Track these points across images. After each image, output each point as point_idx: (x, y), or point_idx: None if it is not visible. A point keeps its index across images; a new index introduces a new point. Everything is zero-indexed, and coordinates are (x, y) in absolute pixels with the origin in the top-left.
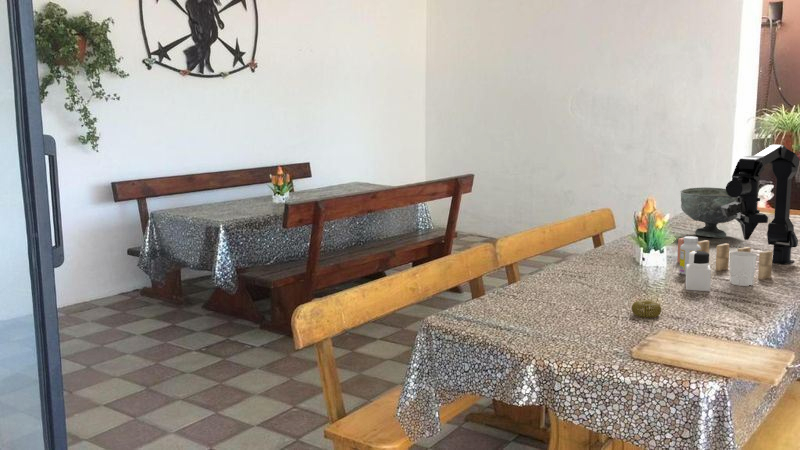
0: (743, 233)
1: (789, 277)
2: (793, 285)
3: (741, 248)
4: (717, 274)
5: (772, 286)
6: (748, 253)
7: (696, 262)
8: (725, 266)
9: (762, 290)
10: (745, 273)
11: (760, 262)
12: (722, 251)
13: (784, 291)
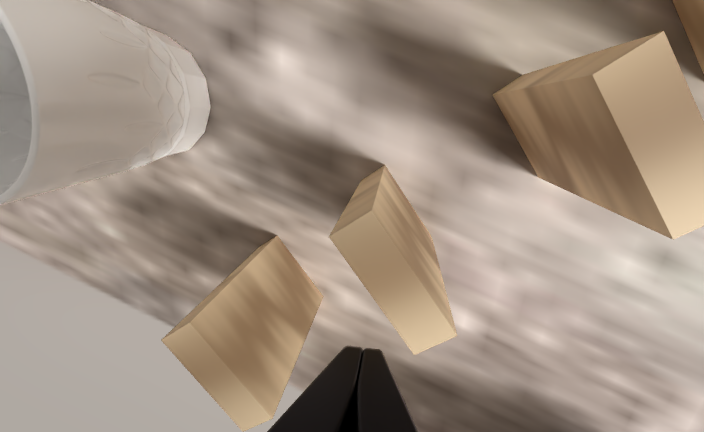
0: (370, 414)
1: (299, 375)
2: (155, 318)
3: (379, 254)
4: (390, 37)
5: (124, 226)
6: (28, 173)
7: None
8: (531, 152)
9: None
10: (21, 83)
11: (226, 283)
12: (569, 114)
13: (45, 233)
